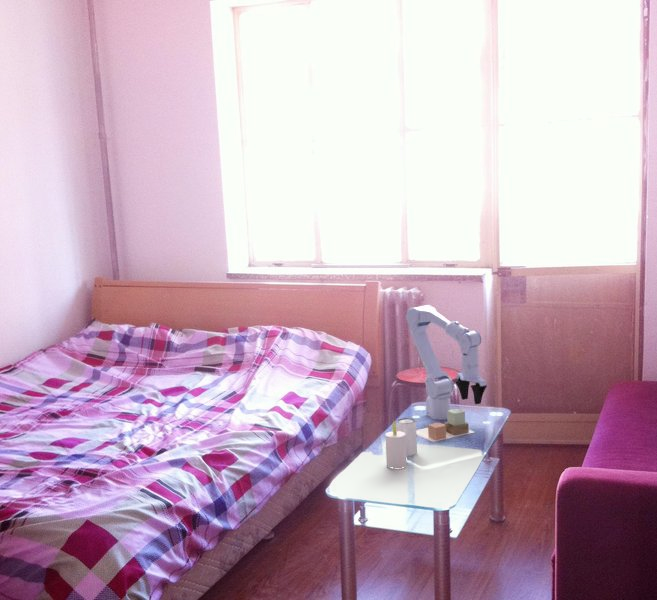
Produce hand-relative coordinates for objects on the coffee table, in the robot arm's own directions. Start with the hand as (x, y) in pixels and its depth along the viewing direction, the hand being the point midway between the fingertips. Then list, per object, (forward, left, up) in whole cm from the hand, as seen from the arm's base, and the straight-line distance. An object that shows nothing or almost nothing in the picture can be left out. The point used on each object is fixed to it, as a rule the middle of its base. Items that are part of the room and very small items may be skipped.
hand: (471, 401), depth 278 cm
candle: (+17, -43, -10) cm, 47 cm away
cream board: (0, -13, -10) cm, 16 cm away
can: (+11, -35, -10) cm, 38 cm away
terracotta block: (+4, -18, -9) cm, 20 cm away
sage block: (+3, -9, -6) cm, 11 cm away
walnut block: (+3, -9, -9) cm, 13 cm away
